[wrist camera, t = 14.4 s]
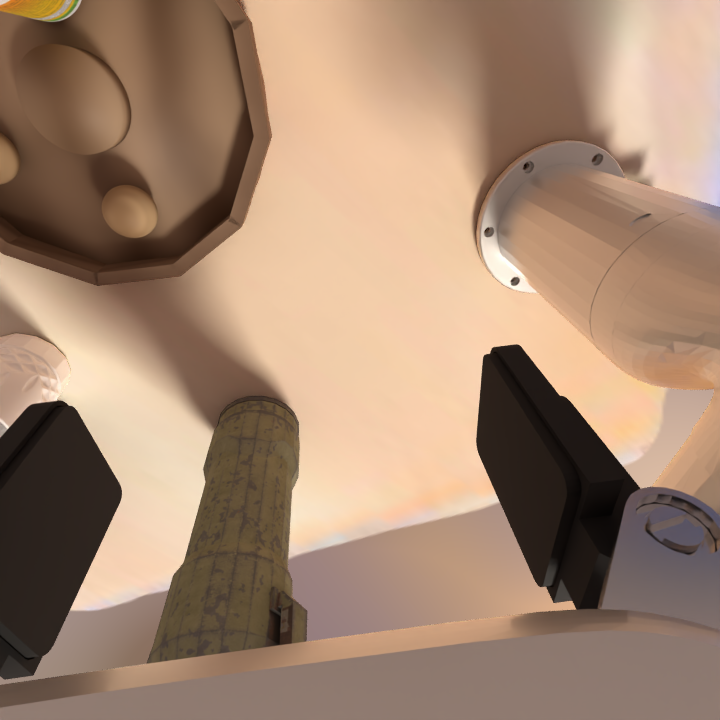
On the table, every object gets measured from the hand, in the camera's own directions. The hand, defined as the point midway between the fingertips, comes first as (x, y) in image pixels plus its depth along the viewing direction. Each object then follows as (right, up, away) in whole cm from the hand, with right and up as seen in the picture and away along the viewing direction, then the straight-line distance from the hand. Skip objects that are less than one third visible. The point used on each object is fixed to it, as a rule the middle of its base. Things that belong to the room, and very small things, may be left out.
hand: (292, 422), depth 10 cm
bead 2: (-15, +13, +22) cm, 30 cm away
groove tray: (-17, +19, +19) cm, 32 cm away
